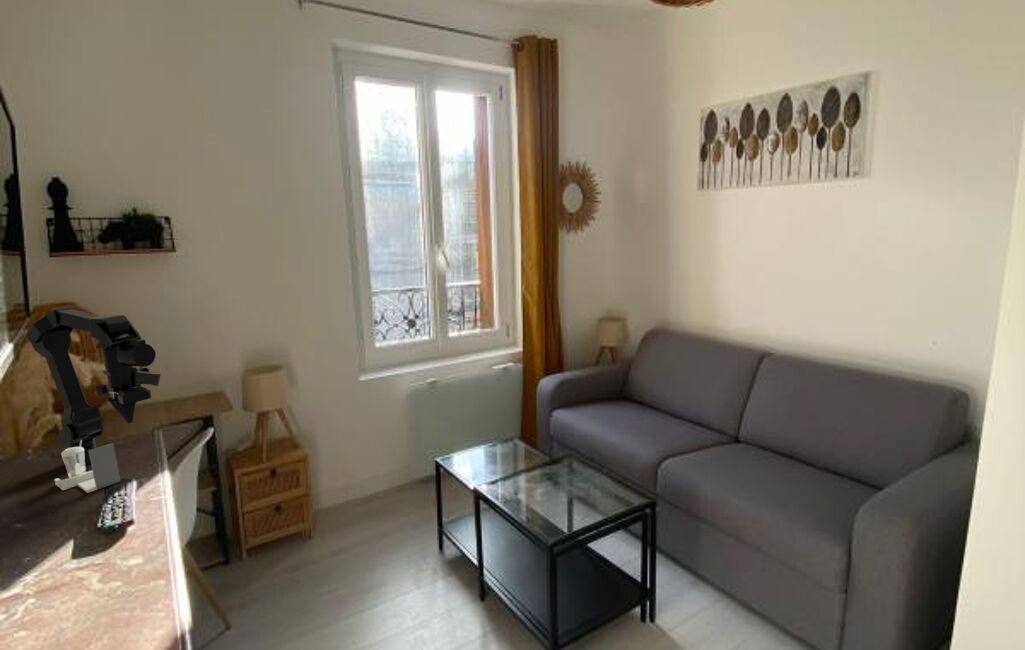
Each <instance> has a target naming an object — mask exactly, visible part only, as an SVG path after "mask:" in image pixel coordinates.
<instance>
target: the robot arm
mask: <svg viewBox="0 0 1025 650" xmlns="http://www.w3.org/2000/svg"><path fill="white" fill-rule="evenodd" d="M75 329H76V330H80V331H84V332H87V333H89V335H90V337H91V338H93V339H95V340H96V341H97V340H98V341H99V342H98V343H97V344H96V346H95V348H96V349H101V353H102V358H103V362H104V363H103V364H104V370H102V372H103V375H105V376H106V380H107V382H100V384H99V385H98V387H96V388H97V393H98V395H100V396H105V395H106V393H109V395H110V397H107V398H106V400H107V401H108V402H109V403H110V404H111V406H112V407H113V408H114V409H115V410H116V412H117V413H118V414H119V416H120V417H121V418H122V419H123V420H124V421H125V423H126V424H128V425H129V424H132V423H133V421H134V416H135V415H134V414H135V409H136V404H137V403H138V402H141V401H142V402H143V401H146V400H149V399H151V398H152V393H151V390H150V389H148V388H146V387H143V386H142V385H151V386H154V387H155V386H156V387H158V386H159V384H160V379H161V373H158V372H155V371H150V369H149V368H148V367H149V366H151V365H152V364H153V363H154V362H155V359H156V355H157V354H156V350H155V348H153V346H152V345H150V344H148V343H146V339H145V338H142V336H141V335H140V332H139V331H138V330H137V329H136V328H135V327H134V326H133V324H132V322H131V321H130V320H129V319H128V317H127V316H125V315H123V314H110V315H109V314H108V315H98V314H94V313H90V312H87V311H86V312H85V311H82V310H77V309H74V308H73V307H61V308H54V309H50V310H49V311H48V312H47V313H46V314H45V315H44V316H42V317H41V318H40V319H38V320H37V321H35V322H33V323H32V325H31V327H30V328H29V330H28V331H27V334H26V336H27V340H28V342H30V344H31V346H32V347H33V349H34V351H35V352H37V353H38V354H40V356H42V357H44V358H45V360H46V362H47V365H48V368H49V371H50V373H51V376H52V378H53V379H52V380H53V382H54V385H55V386H56V390H57V392H58V393H57V394H58V396H59V398H60V401H61V403H62V406H63V408H64V409H63V412H62V415H61V419H60V423H61V429H60V431H59V432H58V435H57V437H56V441H57V443H58V445H59V446H61V447H67V448H72V447H79V446H80V440H82V444H81V447H83V448H84V454H85V466H86V465H88V464H91V461H90V456H89V451H88V450H90V449H94V448H97V446H96V441H95V438H98V437H101V436H103V430H104V420H103V417H102V416H101V413H100V409H99V407H98V406H97V405H91V404H90V403H88V402H87V400H86V397H85V394H84V392H83V389H82V386H81V384H80V381H79V378H78V376H77V373H76V370H75V367H74V365H73V362H72V359H71V355H70V354H69V353H70V352H69V351H70V348H71V346H72V342H73V341H72V336H71V335H72V334H73V332H74V330H75ZM137 367H139V368H137Z"/></svg>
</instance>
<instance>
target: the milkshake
mask: <svg viewBox="0 0 1025 650" xmlns="http://www.w3.org/2000/svg"><path fill="white" fill-rule="evenodd" d="M81 444H82V440H80V446H79V447H72V448H69V447H67V448H66V449H64V450H63V451H62V452H61V454H60V455H61V458H62V460H63V462H64V466H65V469H66V472H67V476H68V478H70V477H73V476H77V475H80V474H83V473H86V472H87V470H86V469H87V467H86V465H85V454H84V448H83V447H81Z"/></svg>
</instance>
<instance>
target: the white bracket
mask: <svg viewBox="0 0 1025 650" xmlns="http://www.w3.org/2000/svg"><path fill="white" fill-rule="evenodd" d="M115 450H116V449H115V444H114V443H108V444H104V445H101V446H96V448H94V449H90V450H88V451H89V456H90V461H91V463H90V464H91V470H89V471H86V473H83V474H80V475H77V476H73V477H70V478H69V477H67V478H65V479H60V478H59V477H58V478H54V484H55V486H56V487H58V488H59V489H60V490H61V491H66V490H68V489H71V488H73V487H78V488H80V489H81V490H83V491H84V492H86V493H87V494H88V493H92V492H94V491H97V490H99V489H100V490H101V489H103V488H106V487H109V486H111V485H114V484H118V483H120V482H121V477H120V472H119V471H120V470H119V465H118V461H117V455H116V451H115Z"/></svg>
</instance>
